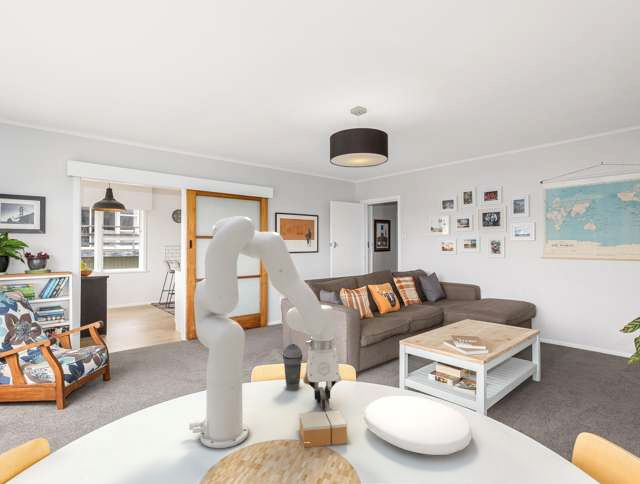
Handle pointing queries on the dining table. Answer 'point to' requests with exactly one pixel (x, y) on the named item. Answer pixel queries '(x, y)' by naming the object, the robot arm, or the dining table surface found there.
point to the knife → (324, 400)
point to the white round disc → (418, 425)
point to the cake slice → (337, 427)
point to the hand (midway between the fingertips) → (322, 400)
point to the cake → (315, 429)
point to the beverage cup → (292, 365)
